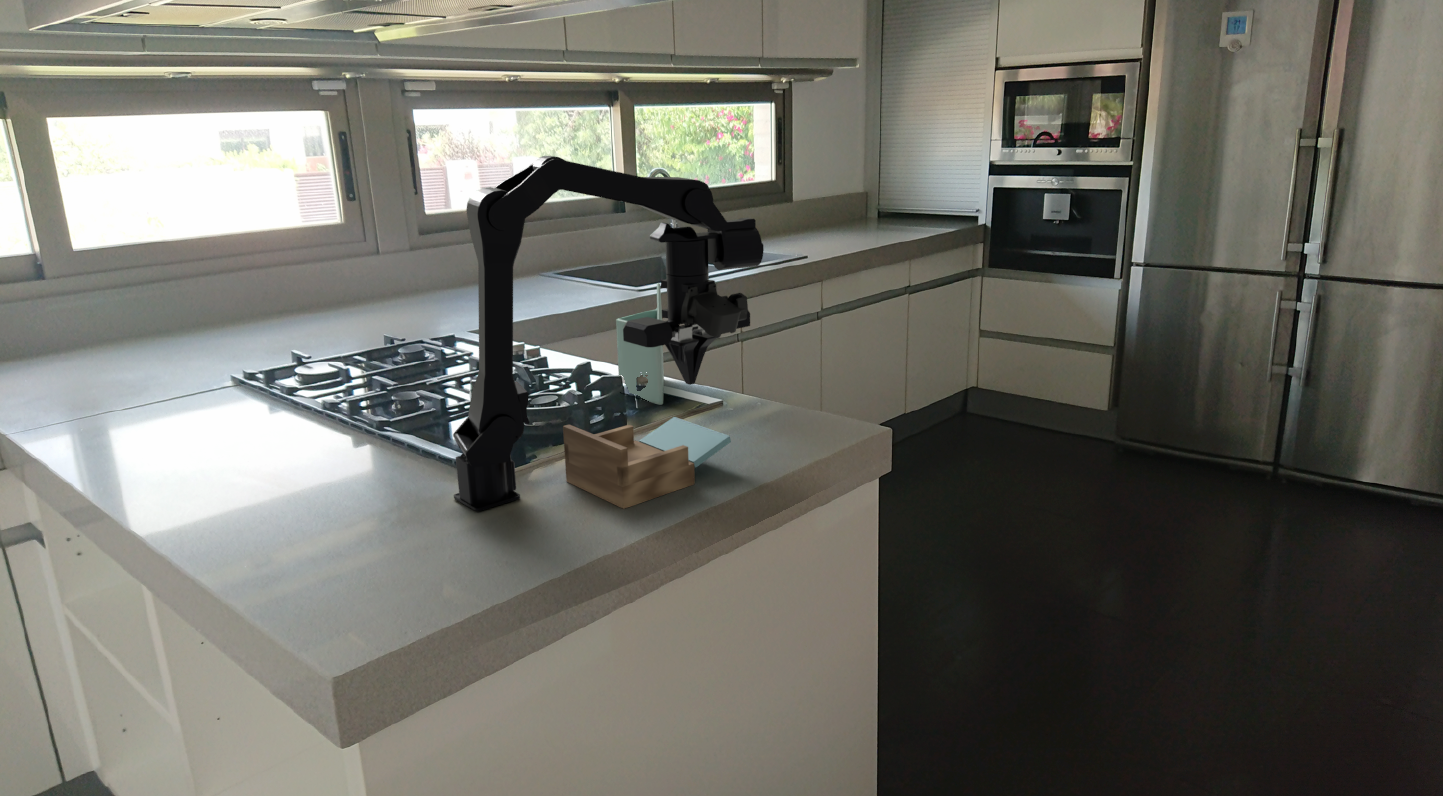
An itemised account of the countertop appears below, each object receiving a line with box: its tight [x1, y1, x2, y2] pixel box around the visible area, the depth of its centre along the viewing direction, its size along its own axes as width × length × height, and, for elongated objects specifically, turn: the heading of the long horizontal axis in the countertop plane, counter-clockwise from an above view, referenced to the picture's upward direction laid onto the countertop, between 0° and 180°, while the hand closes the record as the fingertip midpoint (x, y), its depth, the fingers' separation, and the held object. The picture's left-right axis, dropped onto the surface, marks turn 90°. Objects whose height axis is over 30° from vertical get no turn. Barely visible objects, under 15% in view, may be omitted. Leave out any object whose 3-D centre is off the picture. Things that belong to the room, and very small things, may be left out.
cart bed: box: [562, 424, 696, 510], centre depth 128 cm, size 12×13×8 cm
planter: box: [615, 282, 665, 406], centre depth 168 cm, size 16×8×20 cm, turn 3°
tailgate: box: [638, 416, 732, 469], centre depth 135 cm, size 2×12×7 cm
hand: (690, 383), depth 133 cm, fingers closed
